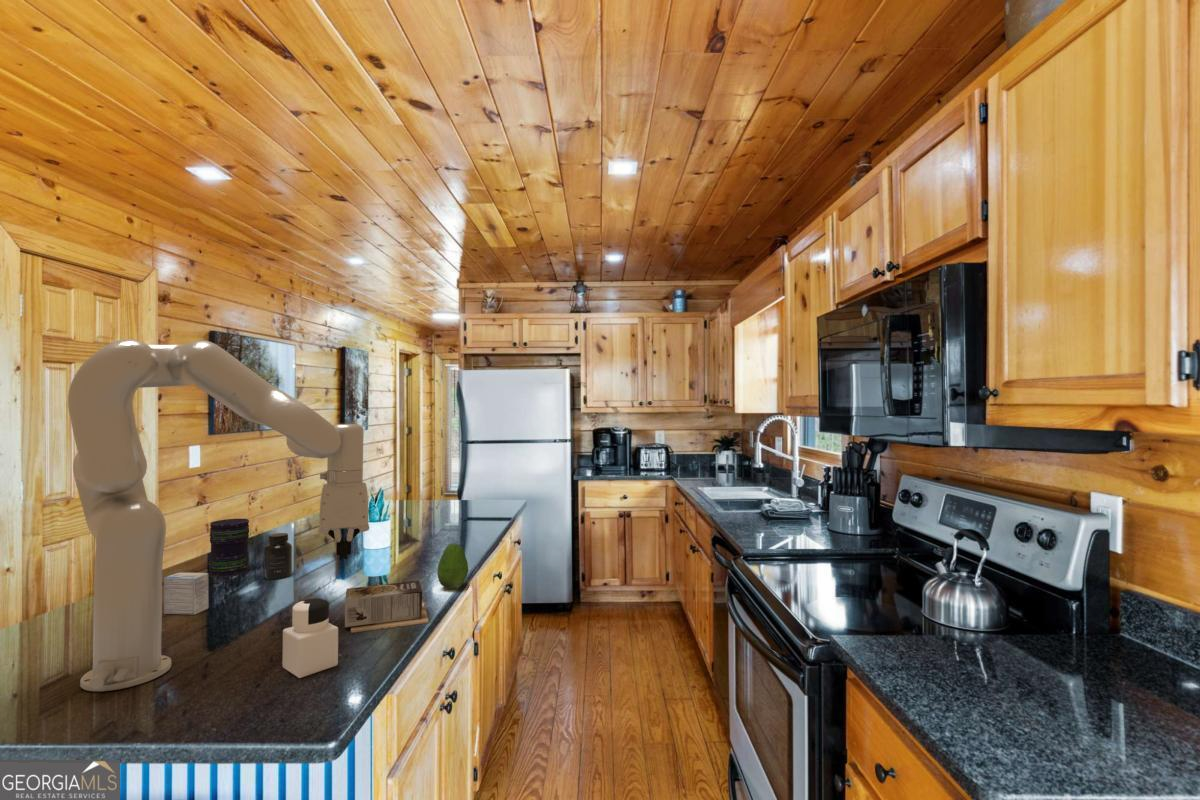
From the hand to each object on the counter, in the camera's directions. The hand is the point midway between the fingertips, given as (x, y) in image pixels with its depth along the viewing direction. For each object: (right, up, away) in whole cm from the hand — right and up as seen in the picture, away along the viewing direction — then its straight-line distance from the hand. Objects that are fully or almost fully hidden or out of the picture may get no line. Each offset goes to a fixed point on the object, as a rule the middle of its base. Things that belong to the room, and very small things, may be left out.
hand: (343, 558), depth 132 cm
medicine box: (-39, -14, +5) cm, 42 cm away
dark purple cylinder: (-50, -15, +38) cm, 65 cm away
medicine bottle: (+5, -14, -25) cm, 29 cm away
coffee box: (+2, -10, -4) cm, 11 cm away
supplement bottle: (-34, -15, +34) cm, 50 cm away
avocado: (+19, -14, +23) cm, 33 cm away
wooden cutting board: (+9, -14, +3) cm, 17 cm away
